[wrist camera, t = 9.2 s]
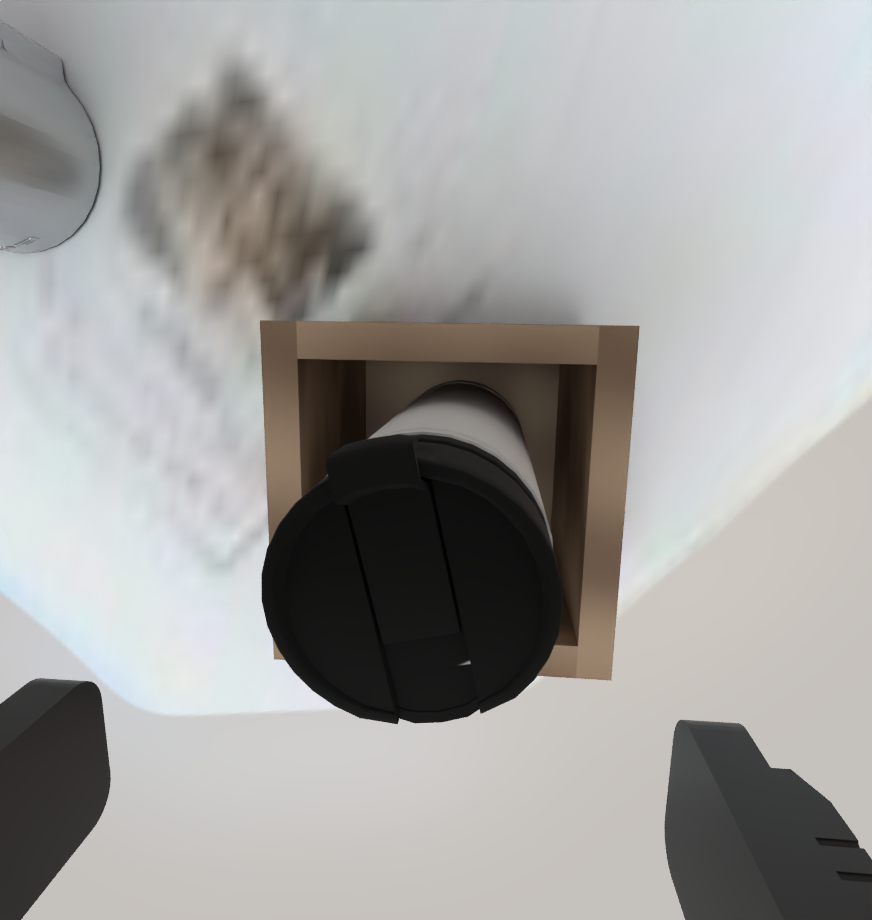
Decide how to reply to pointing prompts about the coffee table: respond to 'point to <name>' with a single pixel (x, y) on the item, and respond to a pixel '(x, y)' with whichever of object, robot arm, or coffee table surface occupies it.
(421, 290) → the coffee table surface
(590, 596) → the wooden box
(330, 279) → the coffee table surface
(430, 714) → the travel mug
